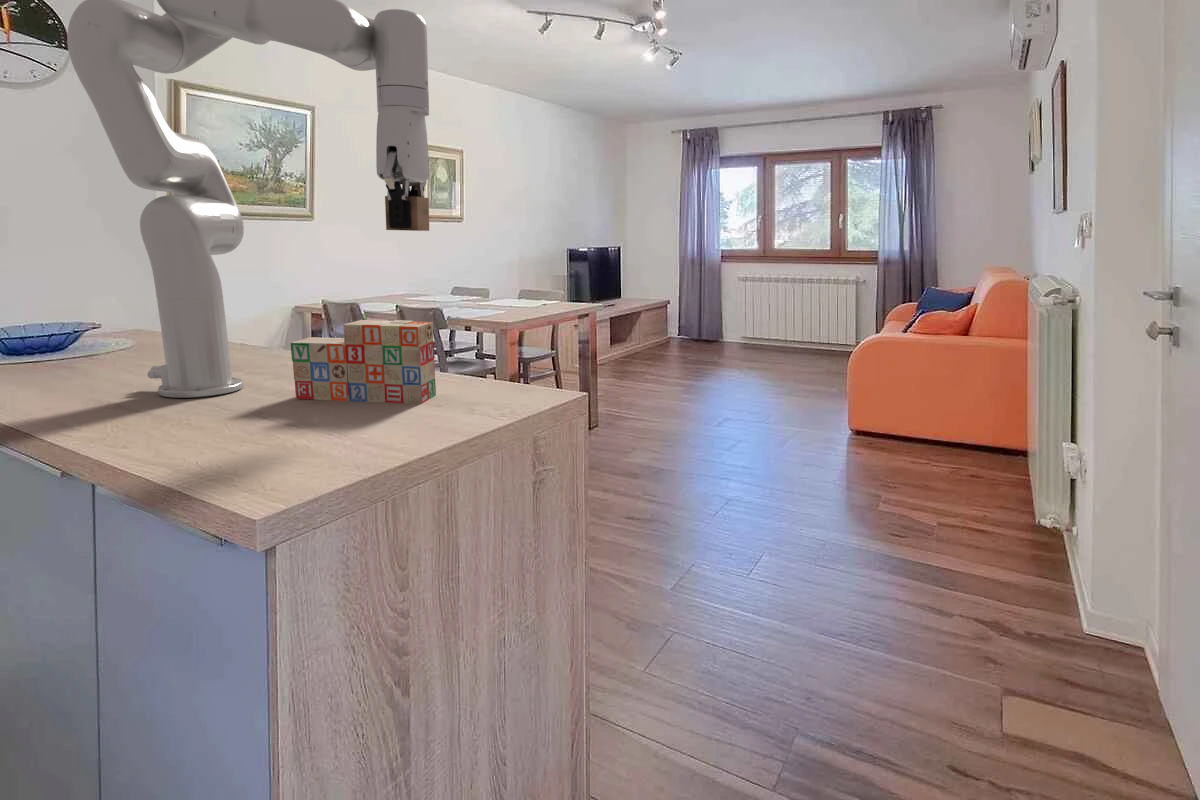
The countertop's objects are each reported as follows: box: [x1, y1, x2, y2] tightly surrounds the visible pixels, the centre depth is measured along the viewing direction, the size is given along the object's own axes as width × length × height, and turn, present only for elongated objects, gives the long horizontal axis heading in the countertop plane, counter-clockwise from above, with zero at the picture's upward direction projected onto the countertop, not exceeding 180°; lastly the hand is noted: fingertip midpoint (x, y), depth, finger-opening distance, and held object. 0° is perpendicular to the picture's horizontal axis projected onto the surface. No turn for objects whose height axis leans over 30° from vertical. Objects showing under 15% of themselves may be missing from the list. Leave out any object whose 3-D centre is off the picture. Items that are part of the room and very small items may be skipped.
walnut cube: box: [384, 195, 430, 232], centre depth 115 cm, size 5×5×5 cm
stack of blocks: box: [290, 319, 437, 405], centre depth 119 cm, size 21×6×12 cm, turn 81°
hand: (407, 226), depth 116 cm, fingers closed on walnut cube, 5 cm apart
